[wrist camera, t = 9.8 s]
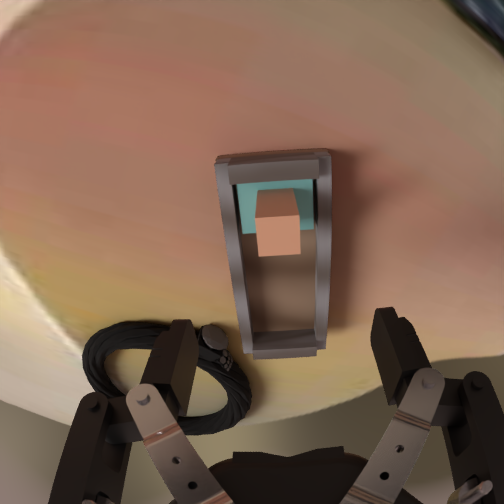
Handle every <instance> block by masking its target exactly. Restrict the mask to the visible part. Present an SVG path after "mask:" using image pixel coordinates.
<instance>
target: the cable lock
mask: <svg viewBox="0 0 504 504" xmlns="http://www.w3.org/2000/svg"><path fill="white" fill-rule="evenodd" d="M169 330H170V327H169V326H163V325H156V324H149V323H141V322H131V323H118V324H114V325H112V326H110V327H108V328H105V329H101V330H99V331H98V332H97V333H95V334H94V335H93V336H92V337H90V339H89V340H88V342H87V343H86V345H85V348H84V351H83V354H82V361H83V369H84V372H85V374H86V376H87V379H88V381H89V383H90V384H91V386H92V387H93V389H94V390H95V392H100V393H102V394H104V395H105V396H106V397H107V399H110V398H116V397H122V396H125V395H124V394H122V393H121V392H120V391H118V390H117V389H116V387H115V386H114V385H113V384H112V382H111V381H110V379H109V378H108V377H107V375H106V373H105V371H104V361H105V358H106V356H108V355H109V354H111V353H112V352H114V351H115V350H117V349H152V348H153V345H154V342H155V340H156V338H157V337H158V336H159V335H160V334H161V333H162V331H169ZM194 331H195V330H194ZM195 332H196V331H195ZM196 338H197V341H198V345H199V357H198V362H197V366H198V367H199V368H201V369H203V370H205V371H206V372H208V373H209V374H210V375H212V376H213V377H214V378H215V379H216V380H217V381H218V382H219V383H221V385H222V386H223V387H224V389H225V390H226V392H227V396H228V402H227V404H226V406H225V407H224V408H223V409H221V410H220V411H219V412H217V413H214V414H211V415H207V416H203V417H184V418H180V417H178V418H177V424H178V425H179V426H180V428H181V430H182V431H183V433H184V434H185V435H203V434H214V433H217V432H220V431H223V430H225V429H229V428H232V427H234V426H235V425H236V424H237V423H238V422H239V421H240V420H241V419H243V418H244V417H245V415H246V413H247V411H248V410H249V409H250V405H251V398H252V394H251V389H250V386H249V381H248V379H247V377H246V375H245V374H244V373H243V371H242V370H241V369H240V368H239V366H238V364H237V363H236V362H235V361H233V359H232V356H231V354H230V353H229V351H228V350H227V349H226V348H227V346H228V337H227V336H226V334H225V333H224V331H222V330H221V329H220V328H219V327H216V326H214V325H210V324H209V325H205V326H202V327H201V329H200V331H199V332H198V334H197V336H196Z"/></svg>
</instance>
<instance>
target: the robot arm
mask: <svg viewBox="0 0 504 504" xmlns="http://www.w3.org/2000/svg"><path fill="white" fill-rule="evenodd" d="M370 338H371V347H372V350H373V353H374V357H375V360H376V363H377V367H378V370H379V373H380V377H381V380H382V384H383V387H384V391H385V394H386V398H387V402H388V405H394V404H397V408H398V410H397V412H396V413H395V415H394V417H393V419H392V421H391V423H390V425H389V426H388V428H387V430H386V432H385V434H384V436H383V437H382V439H381V441H380V443H379V444H378V446H377V448H376V450H375V451H374V453H373V455H372V456H371V458H370V460H367V459H365V458H363V457H361V456H359V455H355V454H351V453H345V452H344V448H343V446H339V447H331V448H321V449H315V450H312V451H309V452H305V453H302V454H298V455H295V456H291V457H284V456H279V455H273V454H268V453H263V452H233V458H231V459H227V460H224V461H221V462H219V463H216V464H215V465H213V466H211V467H210V468H207V467H206V465H205V464H204V462H203V461H202V459H201V458H200V457H199V455H198V454H197V452H196V451H195V449H194V448H193V446H192V445H191V444H190V442H189V441H188V439H187V437H186V436H185V434H184V433H183V431H182V430H181V428H180V426H179V425H178V424H177V418H178V415H180V416H186V414H187V409H188V405H189V400H190V395H191V390H192V385H193V380H194V376H195V371H196V366H197V362H198V357H199V345H198V341H197V338H196V334H195V331H194V328H193V324H192V321H191V320H190V319H181V320H173V321H172V324H171V327H170V330H169V331H162V333H161V334H160V335H159V336H158V337H157V338H156V340H155V342H154V345H153V348H152V351H151V353H150V357H149V359H148V362H147V365H146V367H145V370H144V373H143V376H142V379H141V382H140V384H139V385H137V386H135V387H133V388H132V389H131V390H130V391H129V392H128V394H127V395H126V396H122V397H116V398H110V399H107V397H106V396H105V395H104V394H102V393H100V392H92V393H89V394H87V395H85V396H84V397H83V398H82V399H81V401H80V403H79V406H78V408H77V411H76V414H75V417H74V420H73V422H72V425H71V428H70V432H69V434H68V437H67V440H66V443H65V446H64V450H63V453H62V456H61V459H60V463H59V466H58V469H57V472H56V476H55V479H54V483H53V487H52V490H51V494H50V498H49V502H48V504H120V503H121V497H122V492H123V487H124V481H125V476H126V471H127V466H128V461H129V456H130V451H131V446H132V442H136V441H141V440H144V441H143V443H144V445H145V448H146V449H147V451H148V453H149V455H150V457H151V459H152V461H153V462H154V464H155V466H156V468H157V470H158V471H159V473H160V475H161V477H162V478H163V480H164V482H165V484H166V485H167V487H168V489H169V490H170V492H171V494H172V495H173V497H174V498H175V499H174V500H172V501H171V502H170V503H169V504H423V503H421V502H420V501H418V499H416V498H415V497H414V496H412V495H411V494H410V493H408V492H407V491H406V490H405V489H403V488H402V487H403V486H404V484H405V482H406V480H407V478H408V476H409V474H410V472H411V470H412V468H413V466H414V464H415V462H416V460H417V458H418V456H419V454H420V452H421V450H422V447H423V445H424V443H425V441H426V439H427V436H428V434H429V431H430V428H431V426H441V427H442V431H443V435H444V439H445V443H446V448H447V452H448V456H449V461H450V466H451V471H452V476H453V481H454V486H455V491H454V492H453V493H452V494H451V495H450V496H449V498H448V501H447V504H504V414H503V411H502V408H501V406H500V403H499V400H498V398H497V396H496V393H495V391H494V388H493V386H492V384H491V381H490V379H489V378H488V377H487V376H486V375H485V374H484V373H482V372H477V371H473V372H470V373H468V374H467V375H466V376H465V377H464V379H449V378H444V377H443V375H442V374H441V373H440V372H439V371H438V370H436V369H433V368H432V367H431V365H430V363H429V360H428V358H427V356H426V353H425V351H424V349H423V347H422V344H421V342H419V338H418V336H417V335H416V331H415V329H414V327H413V325H412V324H411V323H410V322H409V321H408V320H407V319H406V318H405V317H400V318H398V316H397V314H396V312H395V309H394V308H393V307H385V308H377V309H376V310H375V314H374V319H373V325H372V330H371V337H370Z"/></svg>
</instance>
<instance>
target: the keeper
mask: <svg viewBox="0 0 504 504" xmlns="http://www.w3.org/2000/svg"><path fill="white" fill-rule="evenodd" d="M237 192H238V200H239V208H240V216H241V225H242V233H243V234H248V233H256V234H257V244H258V254H259V257H261V256H277V255H293V254H301V249H300V230H310V229H314V221H313V181H312V179H304V180H287V181H271V182H258V183H245V184H237Z"/></svg>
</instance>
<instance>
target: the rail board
mask: <svg viewBox="0 0 504 504" xmlns="http://www.w3.org/2000/svg"><path fill="white" fill-rule="evenodd" d="M214 166H215V173H216V180H217V187H218V194H219V201H220V208H221V215H222V222H223V228H224V235H225V241H226V248H227V254H228V261H229V267H230V273H231V280H232V286H233V292H234V298H235V304H236V310H237V316H238V322H239V328H240V334H241V340H242V346H243V351H244V354H247V353H253V358H254V360H255V359H279V358H296V357H310V356H316V353H317V350H319V349H326V338H327V324H328V309H329V292H330V270H331V236H332V170H331V156H330V154H329V151H328V150H327V149H326V148H321V149H297V150H280V151H266V152H253V153H242V154H232V155H222V156H218V157H217V158H216V163H215V164H214ZM304 179H312V181H313V221H314V229H310V230H300V249H301V254H293V255H277V256H261V257H259V254H258V244H257V234H256V233H248V234H243V233H242V225H241V216H240V208H239V200H238V192H237V184H245V183H258V182H271V181H287V180H304Z"/></svg>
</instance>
